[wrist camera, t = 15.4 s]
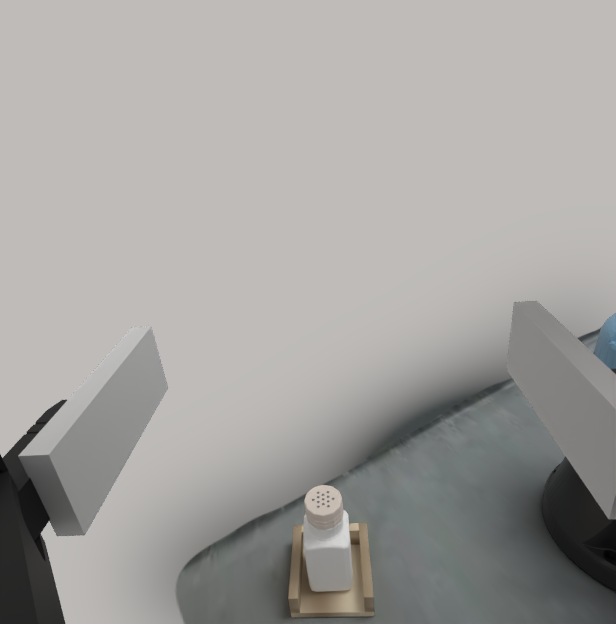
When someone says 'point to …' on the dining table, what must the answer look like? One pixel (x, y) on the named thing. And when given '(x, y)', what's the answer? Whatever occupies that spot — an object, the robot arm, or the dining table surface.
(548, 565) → the dining table surface
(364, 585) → the tray
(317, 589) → the pepper shaker
